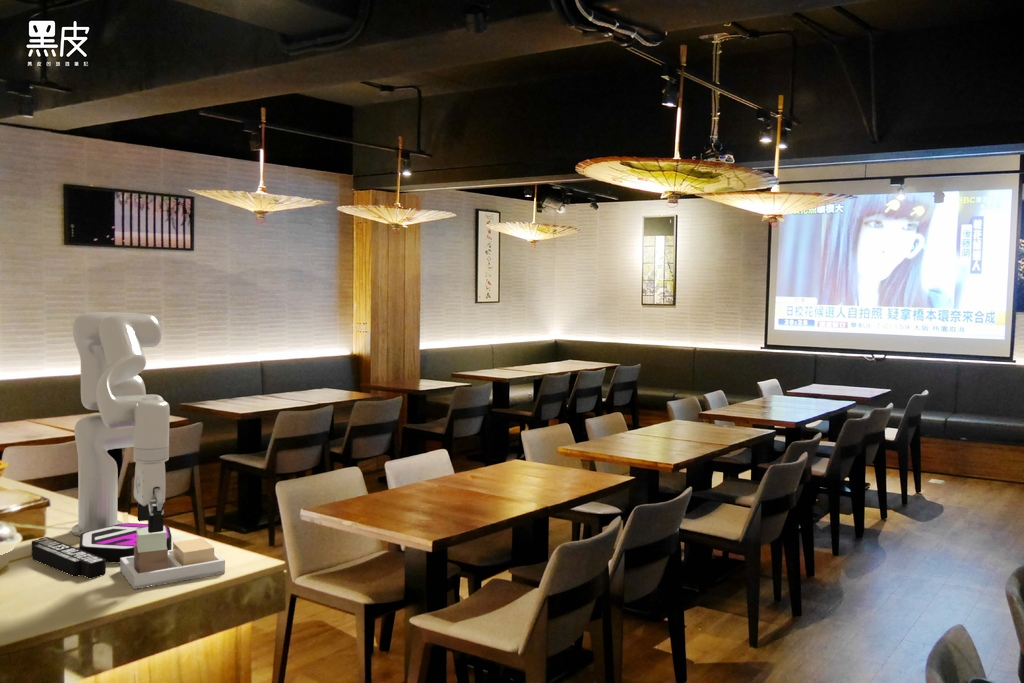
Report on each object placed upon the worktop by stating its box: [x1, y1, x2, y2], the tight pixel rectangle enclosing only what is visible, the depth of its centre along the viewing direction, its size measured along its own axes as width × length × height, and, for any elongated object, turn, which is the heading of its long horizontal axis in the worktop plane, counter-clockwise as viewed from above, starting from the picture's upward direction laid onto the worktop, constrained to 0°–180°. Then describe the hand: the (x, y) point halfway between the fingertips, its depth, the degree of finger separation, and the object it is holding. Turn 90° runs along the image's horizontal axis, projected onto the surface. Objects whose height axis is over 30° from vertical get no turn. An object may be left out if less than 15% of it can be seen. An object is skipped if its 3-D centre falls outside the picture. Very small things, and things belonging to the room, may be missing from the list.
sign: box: [31, 522, 172, 579], centre depth 208 cm, size 27×4×30 cm
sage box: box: [137, 526, 167, 553], centre depth 192 cm, size 6×6×4 cm
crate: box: [119, 537, 226, 590], centre depth 196 cm, size 14×20×6 cm
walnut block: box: [134, 545, 168, 573], centre depth 193 cm, size 6×6×6 cm
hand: (150, 525), depth 193 cm, fingers open, 9 cm apart
